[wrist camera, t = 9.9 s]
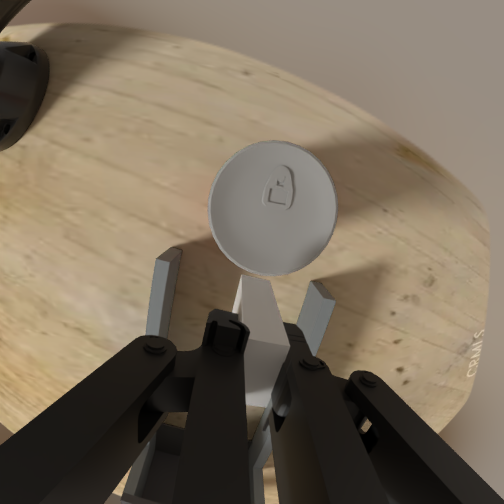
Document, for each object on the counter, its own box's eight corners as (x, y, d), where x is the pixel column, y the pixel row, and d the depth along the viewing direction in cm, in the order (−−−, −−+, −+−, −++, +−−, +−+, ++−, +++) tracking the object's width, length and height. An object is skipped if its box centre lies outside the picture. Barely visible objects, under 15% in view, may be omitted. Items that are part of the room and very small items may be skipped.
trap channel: (170, 247, 27) (107, 298, 14) (321, 283, 29) (380, 355, 15) (147, 450, 33) (125, 522, 20) (246, 470, 35) (248, 544, 21)
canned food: (299, 156, 26) (333, 136, 15) (305, 239, 28) (342, 270, 17) (217, 163, 26) (199, 145, 15) (226, 246, 28) (214, 283, 17)
